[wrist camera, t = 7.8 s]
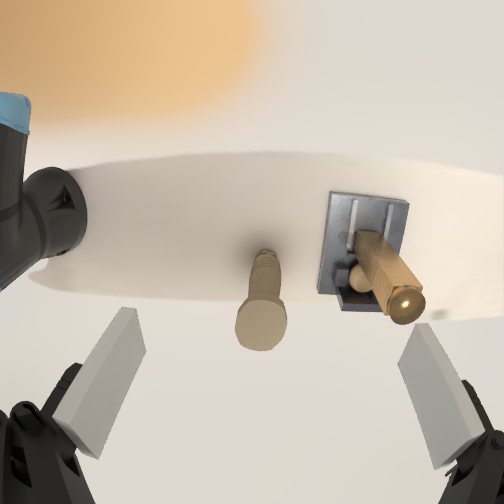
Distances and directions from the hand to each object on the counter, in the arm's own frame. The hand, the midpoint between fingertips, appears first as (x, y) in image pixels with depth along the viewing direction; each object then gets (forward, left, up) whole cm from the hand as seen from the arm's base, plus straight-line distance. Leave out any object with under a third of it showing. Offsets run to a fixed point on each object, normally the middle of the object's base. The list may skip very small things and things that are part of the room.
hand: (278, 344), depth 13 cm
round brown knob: (+14, -4, -26) cm, 30 cm away
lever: (+13, 0, -25) cm, 29 cm away
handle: (+2, -9, -27) cm, 29 cm away
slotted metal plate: (+13, -1, -27) cm, 30 cm away
